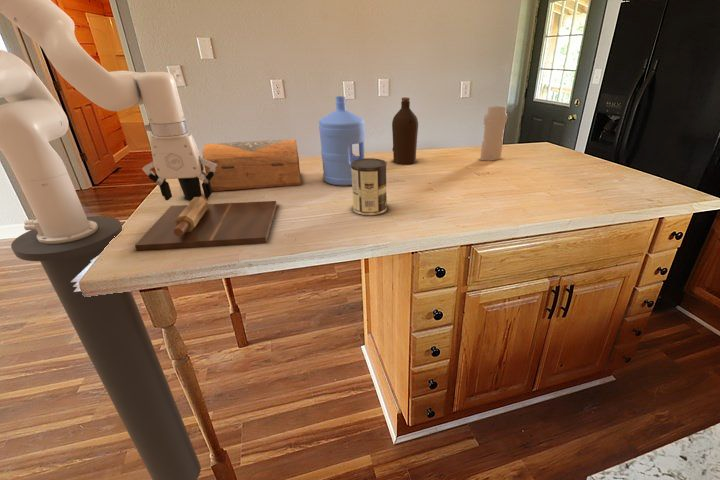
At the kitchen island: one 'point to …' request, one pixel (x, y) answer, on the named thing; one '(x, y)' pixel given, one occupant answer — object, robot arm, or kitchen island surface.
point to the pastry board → (213, 226)
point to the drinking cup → (190, 187)
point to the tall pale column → (493, 133)
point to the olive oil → (404, 134)
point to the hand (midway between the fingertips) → (188, 197)
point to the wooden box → (253, 164)
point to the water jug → (340, 143)
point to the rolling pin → (191, 215)
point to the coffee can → (369, 186)
